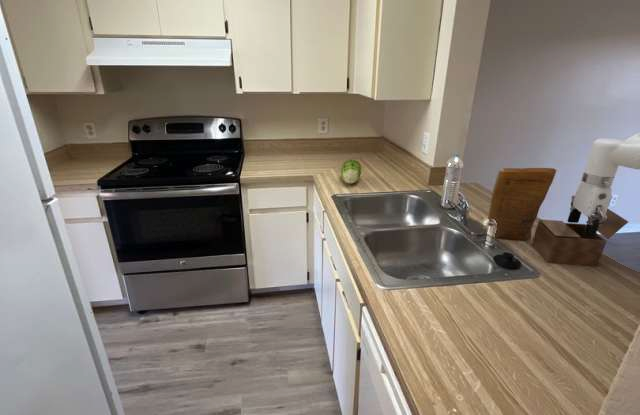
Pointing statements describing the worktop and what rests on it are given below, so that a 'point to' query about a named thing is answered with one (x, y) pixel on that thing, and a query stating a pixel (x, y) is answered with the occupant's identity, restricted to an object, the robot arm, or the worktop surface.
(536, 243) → the carton
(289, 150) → the worktop surface
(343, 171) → the lettuce
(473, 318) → the worktop surface
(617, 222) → the flap
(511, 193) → the wooden cutting board
